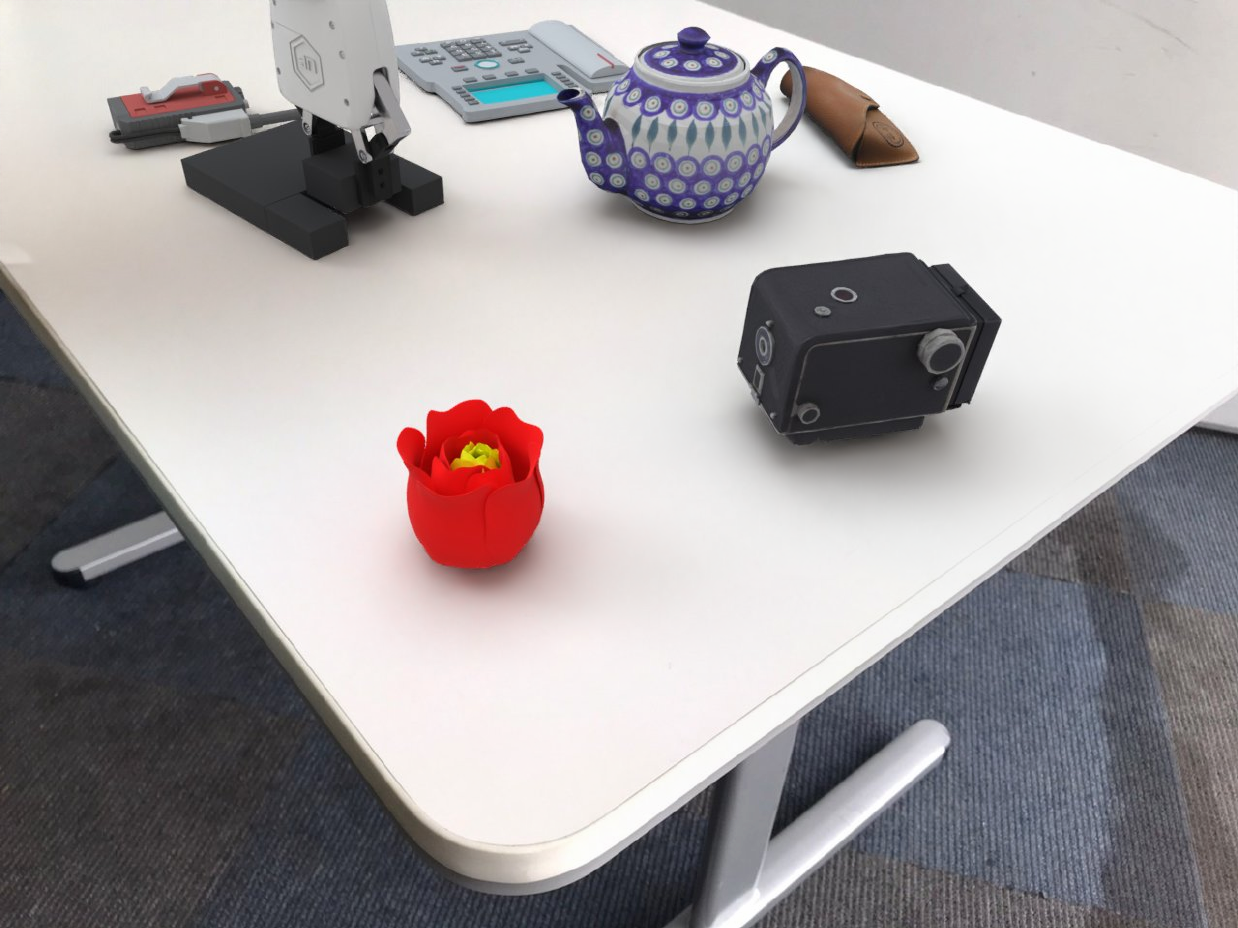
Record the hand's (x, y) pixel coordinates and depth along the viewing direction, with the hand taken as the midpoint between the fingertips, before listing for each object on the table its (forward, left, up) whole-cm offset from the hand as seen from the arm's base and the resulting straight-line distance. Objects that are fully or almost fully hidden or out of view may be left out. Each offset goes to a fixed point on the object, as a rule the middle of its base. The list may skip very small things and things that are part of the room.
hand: (353, 187), depth 85 cm
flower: (-20, -35, -3) cm, 40 cm away
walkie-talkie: (+2, +23, -3) cm, 24 cm away
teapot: (+23, -17, -3) cm, 29 cm away
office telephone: (+33, +13, -3) cm, 36 cm away
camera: (+5, -45, -3) cm, 45 cm away
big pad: (0, +6, -3) cm, 7 cm away
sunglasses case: (+48, -20, -3) cm, 52 cm away
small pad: (0, 0, 0) cm, 0 cm away
